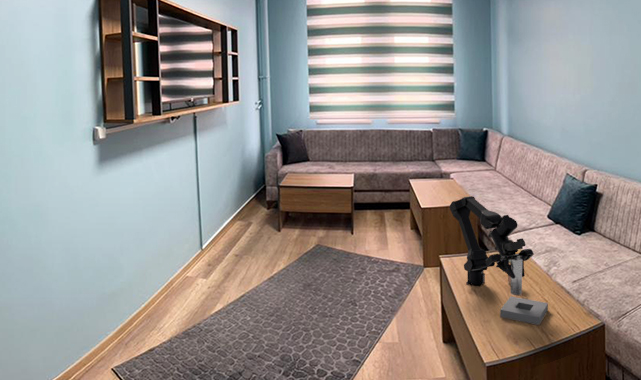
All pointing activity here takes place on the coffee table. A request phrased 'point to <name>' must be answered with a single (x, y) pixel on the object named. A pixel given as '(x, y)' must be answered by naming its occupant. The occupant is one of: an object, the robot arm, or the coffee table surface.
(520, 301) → the pocket block
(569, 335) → the coffee table surface
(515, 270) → the steel peg
